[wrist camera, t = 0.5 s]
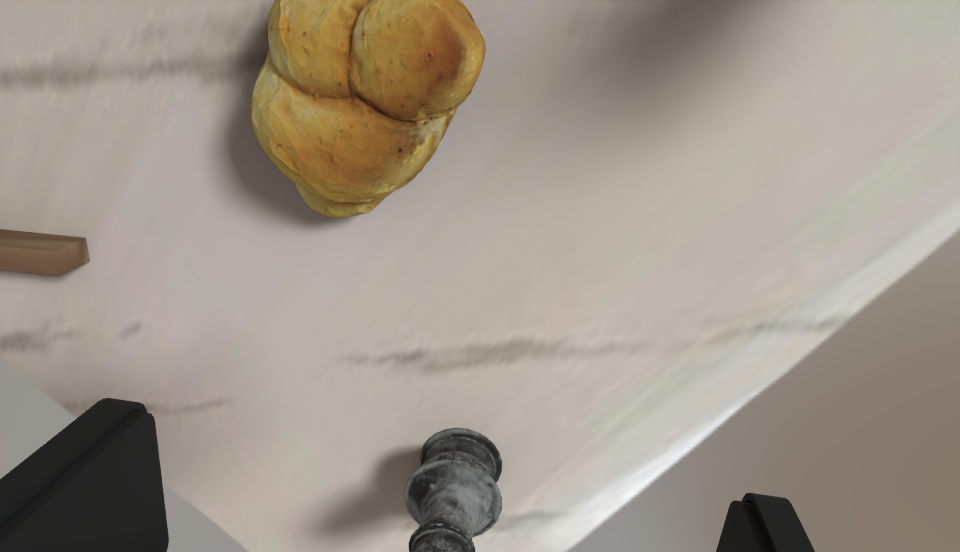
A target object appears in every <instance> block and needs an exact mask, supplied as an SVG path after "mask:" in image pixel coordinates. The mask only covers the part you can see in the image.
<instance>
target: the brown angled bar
mask: <svg viewBox="0 0 960 552" xmlns="http://www.w3.org/2000/svg"><path fill="white" fill-rule="evenodd" d="M89 261H90V260H89V255H88V249H87V244H86V238H81V237H71V236H61V235H51V234H41V233H31V232H22V231H12V230H2V229H0V270H6V271H15V272H24V273H34V274H43V275H52V276H61V275H63V274H65V273H67V272H69V271H71V270H73V269H75V268H77V267H79V266H81V265H83V264H85V263H87V262H89Z"/></svg>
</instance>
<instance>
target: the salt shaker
mask: <svg viewBox="0 0 960 552" xmlns="http://www.w3.org/2000/svg"><path fill="white" fill-rule="evenodd" d="M501 471H502V460H501V457H500V454H499V451H498V450H497V448H496V447H495V445H494V444H493V443H492V442H491V441H490V440H489V439H488V438H487V437H485V436H483V435H481V434H480V433H478V432H475V431H472V430H469V429H461V428H453V429H446V430H443V431H441V432H439V433H436V434H435V435H434V436H432V437H431V438H430V439H429V440H428V441H427V443H426V444H425V446H424V447H423V451H422V454H421V466H420V467H419V468H418V469H417V470H415V471H414V472H413V473H412V475H411V476H410V478H409V479H408V481H407V484H406V488H405V503H406V506H407V508H408V511H409V513H410V514H411V515H412V517H413V518H414V520H415V521H416V522H417V523H418V524H420V526H419V529H417V530H416V531H415V532H414V533H413V534H412V536H411V538H410V541H409V552H475V547H474V544H473V542H472V537H475V536H478V535H481V534H483V533H484V532H486V531H487V530H489V529H490V528H492V526H493V525H494V524H495V523H496V521H497V520H498V518H499V515H500V513H501V510H502V497H501V494H500V491H499V488H498V486H497V485H496V482H497V481H498V480H499V477H500V474H501Z"/></svg>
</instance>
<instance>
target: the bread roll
mask: <svg viewBox="0 0 960 552" xmlns="http://www.w3.org/2000/svg"><path fill="white" fill-rule="evenodd" d="M268 42H269V51H268V54H267V58H266V61H265V63H264V64H263V66H262V67H261V69H260V72H259V74H258V77H257V79H256V82H255V85H254V90H253V95H252V102H251V103H249V106H250V107H251V120H252V125H253V129H254V132H255V135H256V137H257V139H258V141H259V143H260V145H261V147H262V148H263V149H264V151H265V152H266V154H267V155H268V157H269V158H270V160H271V161H272V162H273V163H274V164H275V165H276V167H277V168H278V169H279V170H280V171H281V172H282V173H283V174H284V175H285V176H286V177H288V178H289V179H290V180H291V181H292V182H294V183H295V187H296V189H297V191H298V192H299V194H300V195H301V197H302V198H303V200H304V201H305V202H306V203H307V205H308V206H309V207H310V208H311V209H313V210H314V211H316V212H318V213H320V214H321V215H325V216H327V217H332V218H345V217H350V216H355V215H360V214H365V213H369V212H370V211H372V210H373V209H374V208H375V207H376V206H377V205H378V204H379V203H380V202H381V201H382V200H383V199H384V198H386V196H388V195H390V194H391V193H392V192H394V191H395V190H397V189H399V188H401V187H403V186H405V185H407V184H408V183H409V182H410V181H411V180H413V179H414V178H415V176H416V175H417V174H418V173H419V172H420V171H421V170H422V169H423V167H424V166H425V164H426V163H427V162H428V161H429V160H430V159H431V157H432V156H433V154H434V153H435V151H436V149H437V146H438V144H439V143H440V141H441V139H442V138H443V136H444V134H445V132H446V130H447V128H448V126H449V124H450V122H451V120H452V118H453V117H454V114H455V112H456V109H457V107H458V106H459V105H460V104H461V103H462V102H464V101H465V99H466V98H467V96H468V95H469V94H470V93H471V90H472V88H473V86H474V84H475V82H476V80H477V78H478V76H479V74H480V71H481V68H482V65H483V61H484V57H485V52H486V46H485V41H484V39H483V37H482V35H481V33H480V31H479V30H478V28H477V26H476V25H475V22H474V20H473V18H472V16H471V14H470V12H469V11H468V9H467V8H466V7H465V5H464V4H463V3H462V2H461V1H460V0H275V2H274V4H273V6H272V8H271V11H270V14H269V22H268Z"/></svg>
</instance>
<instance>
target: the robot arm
mask: <svg viewBox="0 0 960 552" xmlns="http://www.w3.org/2000/svg"><path fill="white" fill-rule="evenodd" d="M168 543H169V538H168V528H167V520H166V511H165V504H164V494H163V486H162V477H161V469H160V461H159V452H158V444H157V435H156V427H155V420H154V417H153V416H152V414H149V413H147V410H146V408H145V406H144V405H143V404H141V403H139V402H132V401H125V400H118V399H111V398H106V399H102V400H100V401H99V402H97V403H96V404H95V405H93V406H92V407H91V408H90V409H88V410H87V411H86V412H85V413H83V414H82V415H81V416H80V417H78V418H77V419H76V420H75V421H73V422H72V423H71V424H69V425H68V426H67V427H66V428H64V429H63V430H62V431H61V432H59V433H58V434H57V435H56V436H54V437H53V438H52V439H51V440H49V441H48V442H47V443H46V444H44V445H43V446H42V447H40V448H39V449H38V450H37V451H35V452H34V453H33V454H32V455H30V456H29V457H28V458H27V459H25V460H24V461H23V462H22V463H20V464H19V465H18V466H17V467H15V468H14V469H13V470H11V472H9V473H8V474H6V475H5V476H4V477H3V478H1V479H0V552H166V551H167V548H168ZM716 552H815V551H814V549H813V547H812V545H811V543H810V541H809V539H808V537H807V534H806V532H805V531H804V529H803V526H802V524H801V522H800V520H799V519H798V516H797V514H796V512H795V510H794V508H793V506H792V504H791V503H790V501H789V500H787V499H786V498H781V497H775V496H767V495H760V494H754V493H747V494H745V496H744V497H743V499H742V501H733V502H732V503H731V504H730V507H729V510H728V513H727V516H726V520H725V523H724V527H723V530H722V534H721V537H720V541H719V544H718V547H717V551H716Z"/></svg>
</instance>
